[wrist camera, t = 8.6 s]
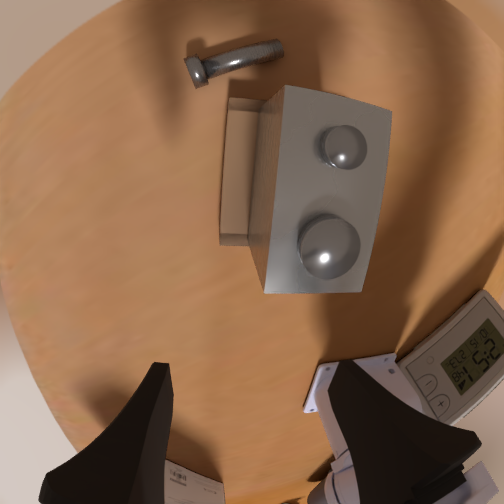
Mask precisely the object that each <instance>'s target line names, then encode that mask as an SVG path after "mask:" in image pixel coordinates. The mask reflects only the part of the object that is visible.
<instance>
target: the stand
mask: <svg viewBox="0 0 504 504" xmlns="http://www.w3.org/2000/svg"><path fill="white" fill-rule="evenodd" d="M266 102H267V101H266V100H257V99H246V98H232V97H229V101H228V112H227V124H226V137H225V150H224V164H223V179H222V196H221V215H220V236H219V241H220V245H224V246H249V244H248V228H249V216H250V204H251V192H252V180H253V169H254V157H255V145H256V134H257V123H258V112H259V109H260V108H261V107H262V106H263V105H264V104H265V103H266Z"/></svg>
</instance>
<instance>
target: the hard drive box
mask: <svg viewBox="0 0 504 504" xmlns="http://www.w3.org/2000/svg"><path fill="white" fill-rule="evenodd" d="M164 497H165V504H225V493H224V484H223V483H220V482H217V481H215V480H212V479H210V478H207V477H204V476H201V475H199V474H197V473H194V472H192V471H190V470H187V469H186V468H184V467H181V466H179V465H176V464H174V463H172V462H170V461H168V460H165V473H164Z"/></svg>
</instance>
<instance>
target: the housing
mask: <svg viewBox="0 0 504 504" xmlns="http://www.w3.org/2000/svg"><path fill="white" fill-rule="evenodd" d="M391 121H392V111H390V110H387V109H384V108H381V107H378V106H375V105H371V104H368V103H365V102H361V101H358V100H354V99H351V98H347V97H343V96H339V95H335V94H331V93H326V92H322V91H317V90H312V89H307V88H302V87H296V86H290V85H284V86H283V87H282V88H281V89H280V90H279V91H278V92H277V93H276V94H274V95H273V96H272V97H271V98H270V99H269V100H268V101H267V102H266V103H265V104H264V105H263V106H262V107H261V108H260V109H259V112H258V123H257V134H256V145H255V157H254V169H253V180H252V192H251V204H250V216H249V228H248V244H249V247H250V250H251V253H252V256H253V260H254V263H255V266H256V269H257V272H258V276H259V279H260V282H261V285H262V288H263V292H264V293H350V292H361V291H362V288H363V284H364V280H365V276H366V273H367V269H368V265H369V261H370V257H371V252H372V248H373V244H374V239H375V234H376V230H377V225H378V220H379V214H380V209H381V203H382V197H383V191H384V185H385V178H386V171H387V163H388V154H389V145H390V134H391Z"/></svg>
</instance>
